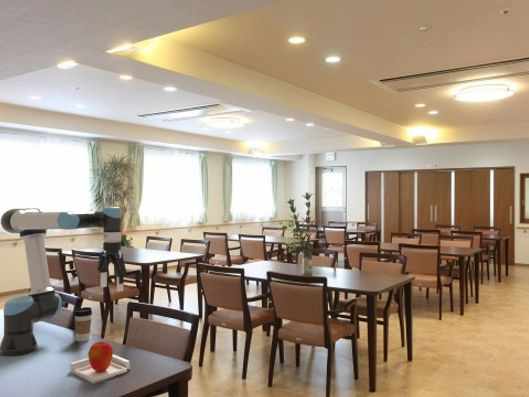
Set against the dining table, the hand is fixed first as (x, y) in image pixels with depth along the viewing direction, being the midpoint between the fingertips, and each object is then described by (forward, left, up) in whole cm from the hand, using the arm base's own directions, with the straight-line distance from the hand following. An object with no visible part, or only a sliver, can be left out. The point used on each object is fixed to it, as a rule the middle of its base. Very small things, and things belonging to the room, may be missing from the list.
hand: (111, 289), depth 205 cm
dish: (+19, -16, -29) cm, 38 cm away
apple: (+18, -16, -28) cm, 37 cm away
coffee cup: (-27, +2, -29) cm, 40 cm away
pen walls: (+16, -14, -29) cm, 36 cm away
